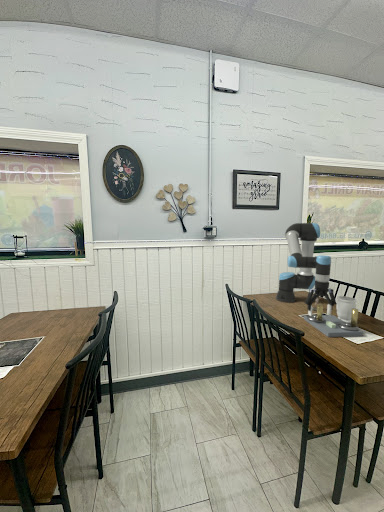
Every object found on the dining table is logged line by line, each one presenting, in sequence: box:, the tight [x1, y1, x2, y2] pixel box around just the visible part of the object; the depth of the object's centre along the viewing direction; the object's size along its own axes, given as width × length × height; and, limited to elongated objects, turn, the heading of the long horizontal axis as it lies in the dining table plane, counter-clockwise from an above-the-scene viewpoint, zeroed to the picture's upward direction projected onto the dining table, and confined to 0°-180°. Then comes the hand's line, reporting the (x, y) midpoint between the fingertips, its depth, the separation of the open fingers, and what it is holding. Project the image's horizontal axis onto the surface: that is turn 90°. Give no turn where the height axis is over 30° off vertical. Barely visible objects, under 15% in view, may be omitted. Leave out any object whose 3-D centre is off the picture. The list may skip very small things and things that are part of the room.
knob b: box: [338, 308, 360, 331], centre depth 127 cm, size 10×10×11 cm
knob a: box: [306, 303, 325, 322], centre depth 138 cm, size 10×10×11 cm
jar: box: [335, 295, 357, 323], centre depth 142 cm, size 11×10×15 cm
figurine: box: [312, 296, 324, 312], centre depth 161 cm, size 11×7×12 cm, turn 79°
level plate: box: [303, 314, 363, 338], centre depth 133 cm, size 24×20×5 cm
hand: (319, 315), depth 135 cm, fingers open, 11 cm apart
